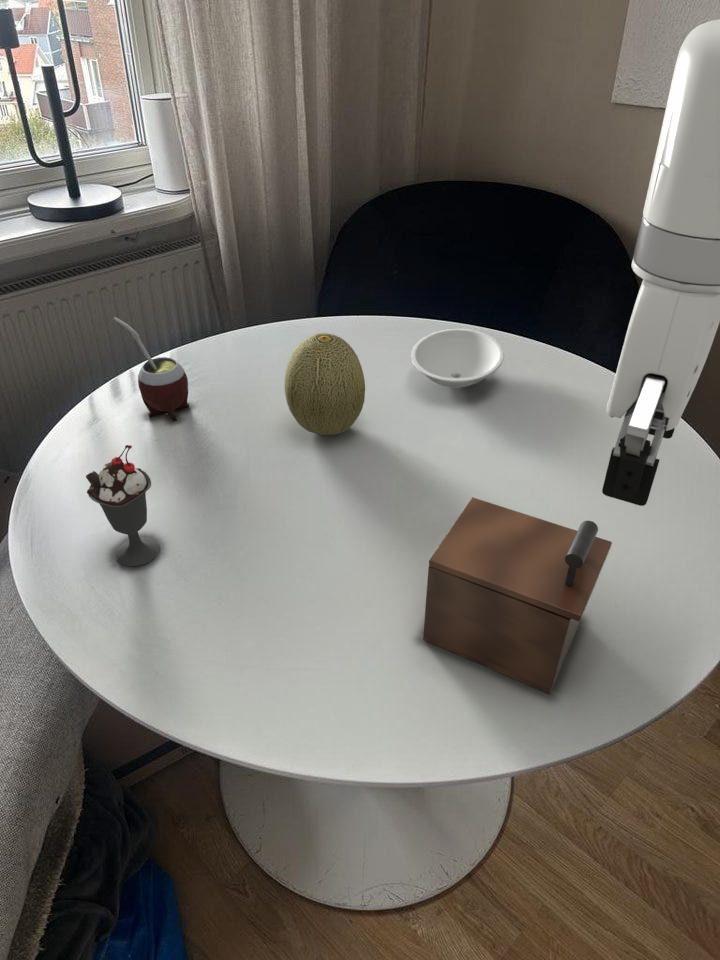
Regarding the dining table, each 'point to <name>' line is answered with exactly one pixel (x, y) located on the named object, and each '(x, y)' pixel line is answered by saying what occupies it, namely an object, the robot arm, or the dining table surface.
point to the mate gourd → (161, 383)
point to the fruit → (324, 384)
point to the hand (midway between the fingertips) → (638, 463)
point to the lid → (524, 557)
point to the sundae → (125, 507)
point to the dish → (457, 356)
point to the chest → (496, 629)
